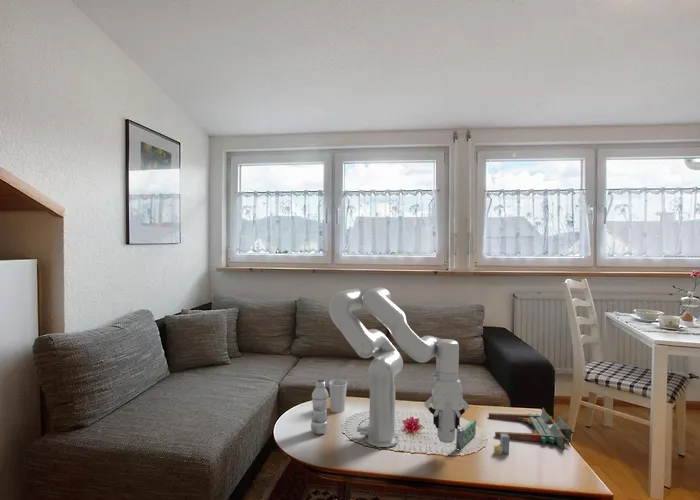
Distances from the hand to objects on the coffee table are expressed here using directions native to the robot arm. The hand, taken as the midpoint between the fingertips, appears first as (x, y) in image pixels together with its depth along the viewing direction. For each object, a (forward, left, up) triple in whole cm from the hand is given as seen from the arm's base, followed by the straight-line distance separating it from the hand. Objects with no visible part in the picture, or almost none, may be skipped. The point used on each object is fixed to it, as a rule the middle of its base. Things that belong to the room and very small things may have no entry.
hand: (446, 426), depth 139 cm
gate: (+10, +12, -10) cm, 18 cm away
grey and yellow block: (+20, +5, -10) cm, 23 cm away
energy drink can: (0, 0, -5) cm, 5 cm away
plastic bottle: (-46, +12, -11) cm, 49 cm away
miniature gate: (+38, +23, -11) cm, 46 cm away
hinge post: (+6, +5, -10) cm, 13 cm away
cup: (-41, +34, -11) cm, 54 cm away
